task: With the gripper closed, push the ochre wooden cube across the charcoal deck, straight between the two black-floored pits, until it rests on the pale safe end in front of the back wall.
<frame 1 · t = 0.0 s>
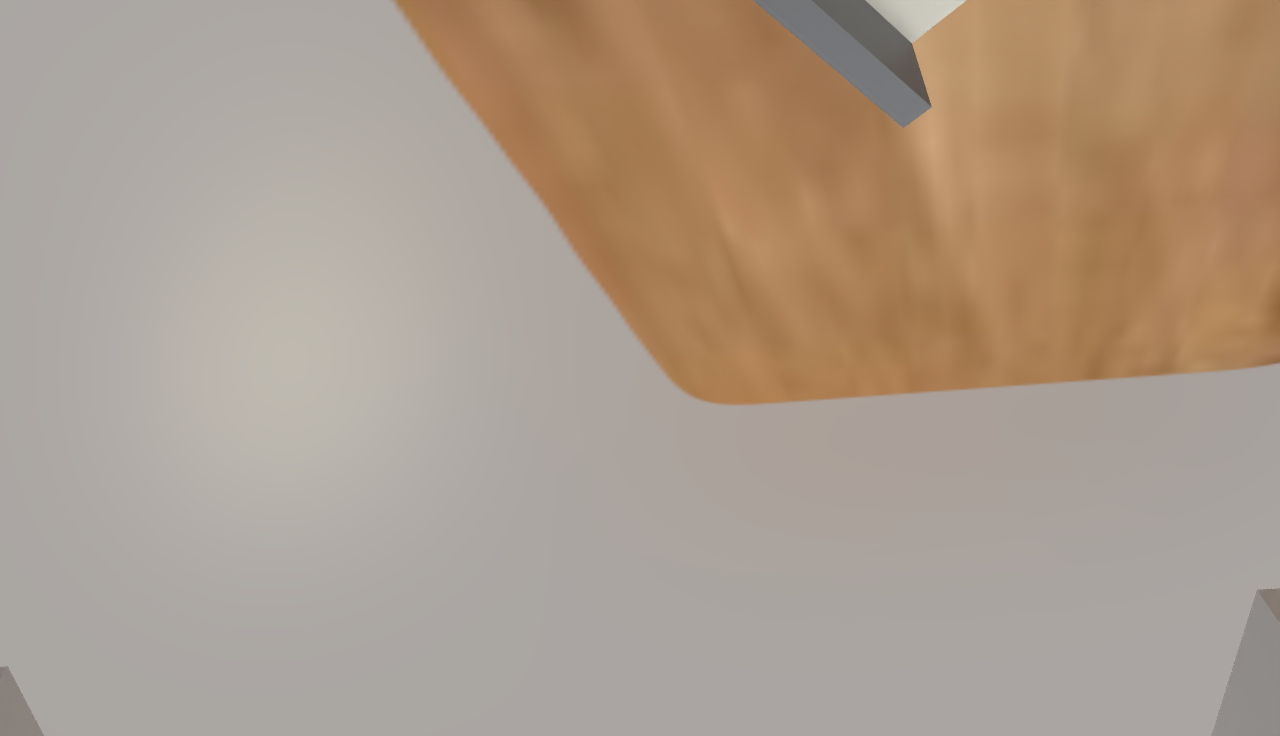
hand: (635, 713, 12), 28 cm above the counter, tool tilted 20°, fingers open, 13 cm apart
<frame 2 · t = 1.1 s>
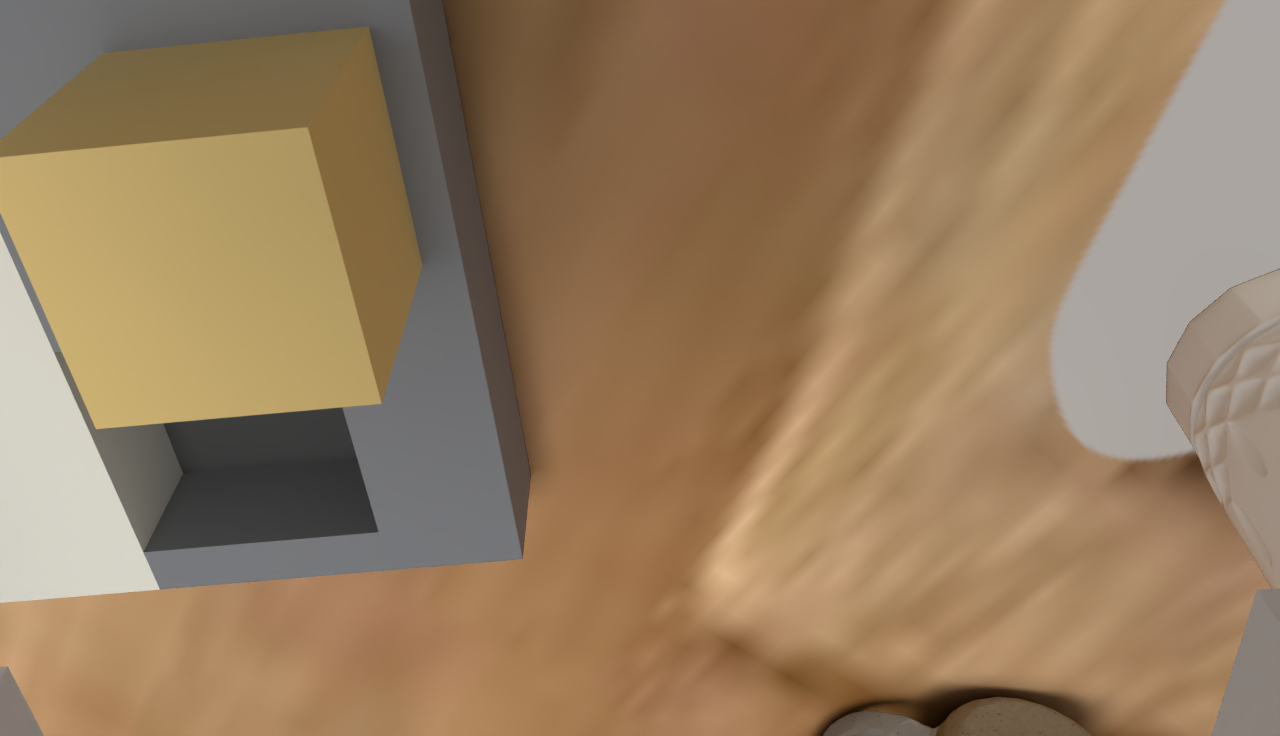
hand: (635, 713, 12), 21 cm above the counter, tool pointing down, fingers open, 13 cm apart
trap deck: (125, 123, 30), on the counter
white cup: (1270, 355, 35), on the counter
ochre cube: (271, 165, 27), point 4 cm above the counter, touching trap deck
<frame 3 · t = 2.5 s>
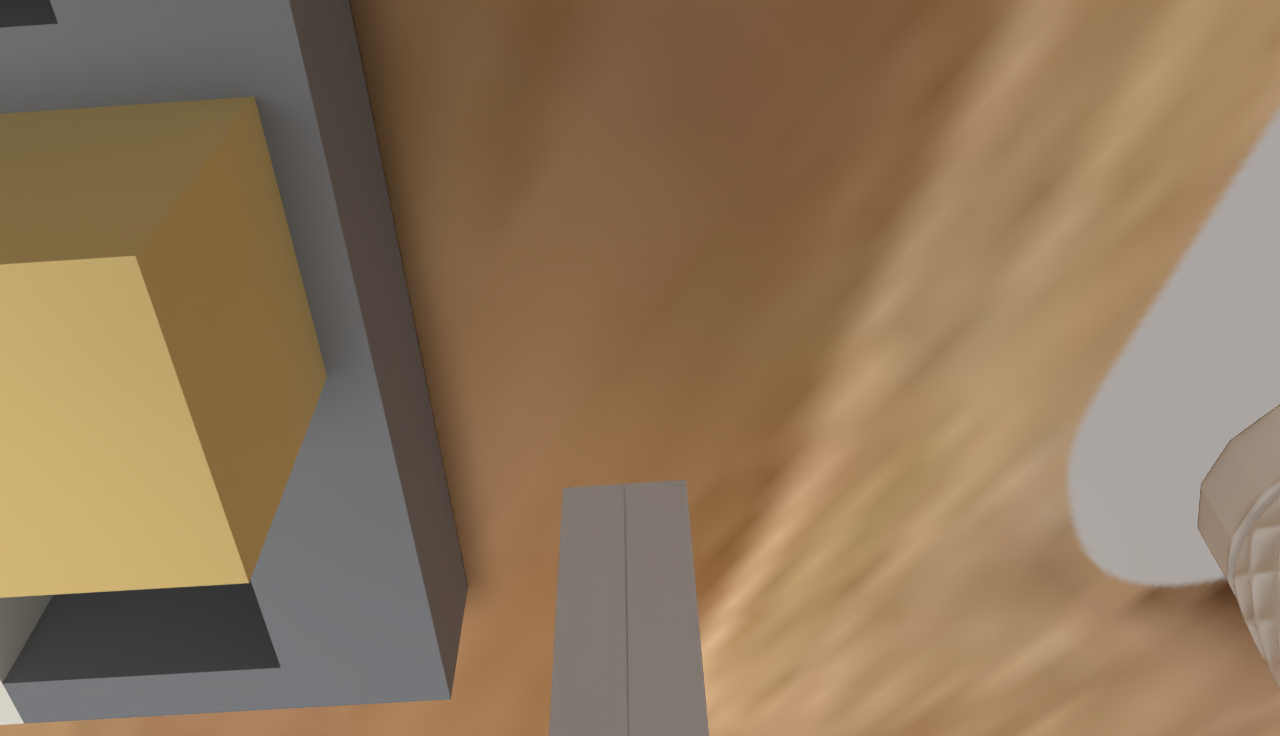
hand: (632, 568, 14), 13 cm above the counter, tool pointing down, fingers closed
ochre cube: (138, 257, 22), point 4 cm above the counter, touching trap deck
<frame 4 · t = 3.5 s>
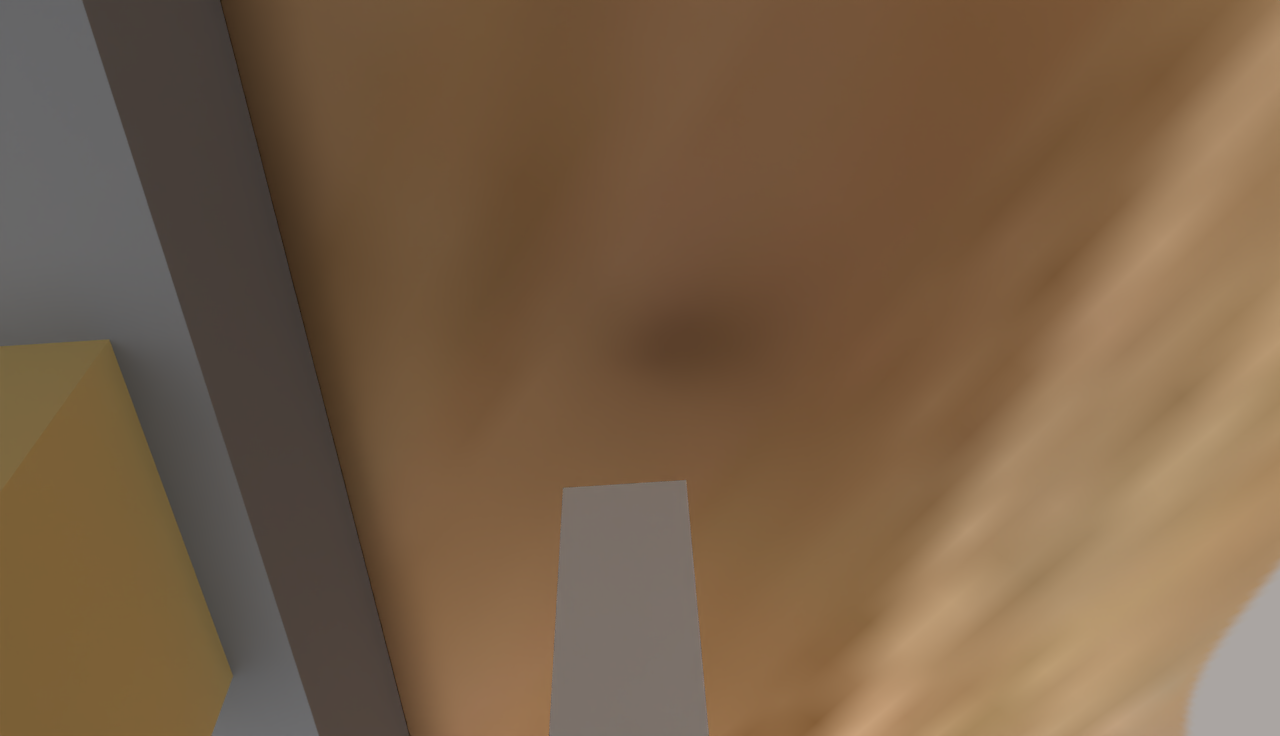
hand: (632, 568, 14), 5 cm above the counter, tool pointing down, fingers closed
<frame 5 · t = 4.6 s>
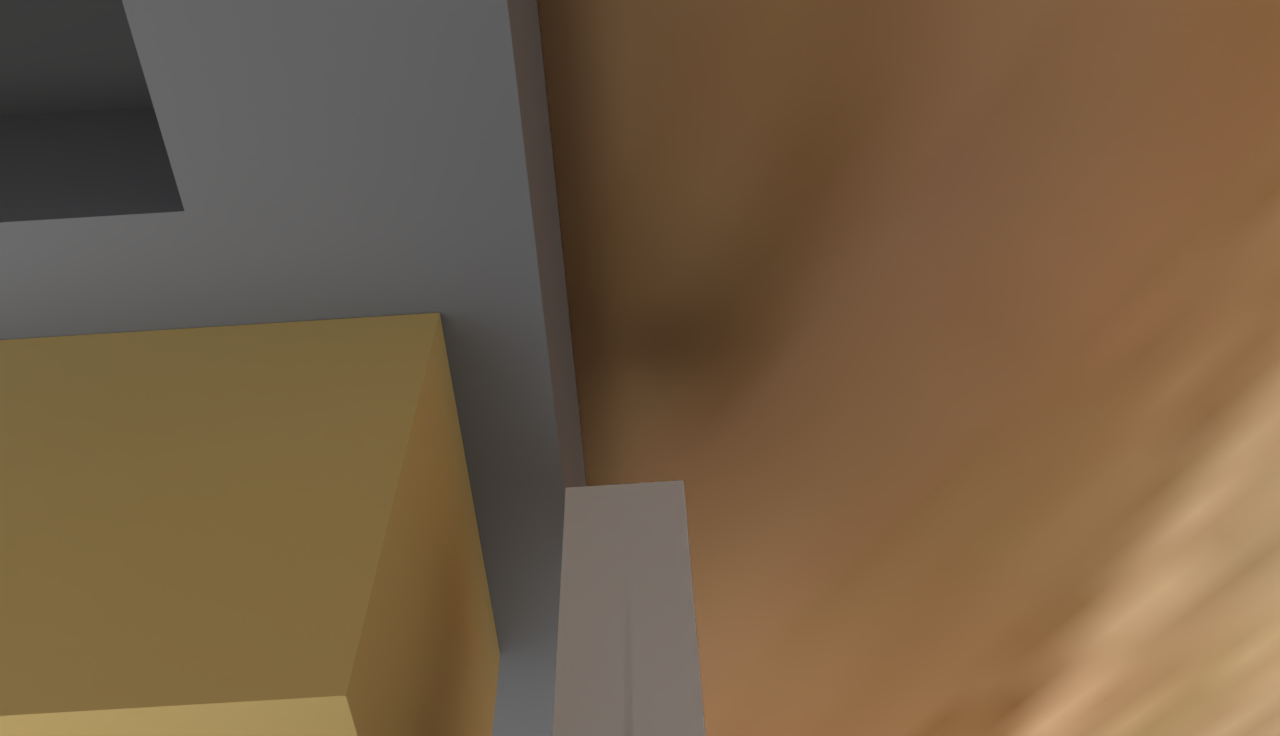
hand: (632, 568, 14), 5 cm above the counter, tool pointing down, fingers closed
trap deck: (34, 373, 19), on the counter
ochre cube: (255, 514, 16), point 4 cm above the counter, touching gripper
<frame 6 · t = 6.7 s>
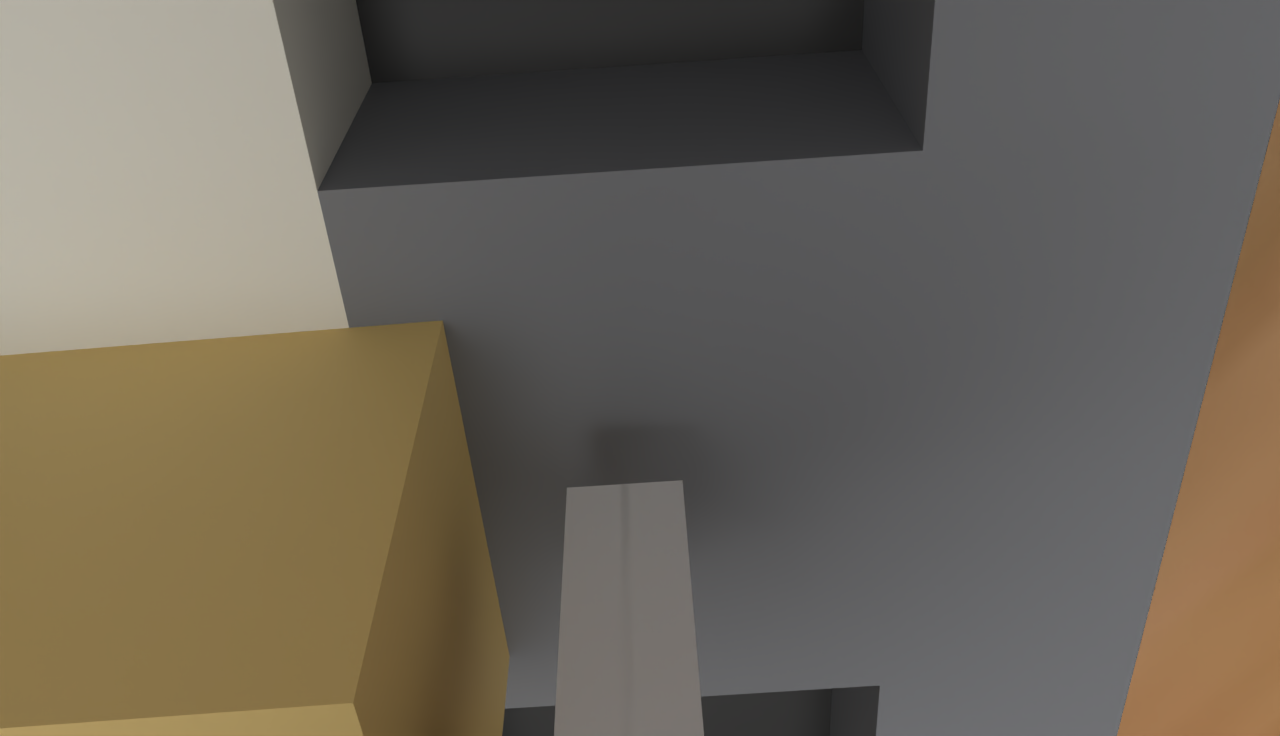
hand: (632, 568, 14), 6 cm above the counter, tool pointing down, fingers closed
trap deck: (545, 332, 19), on the counter
ochre cube: (265, 522, 16), point 4 cm above the counter, touching gripper, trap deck
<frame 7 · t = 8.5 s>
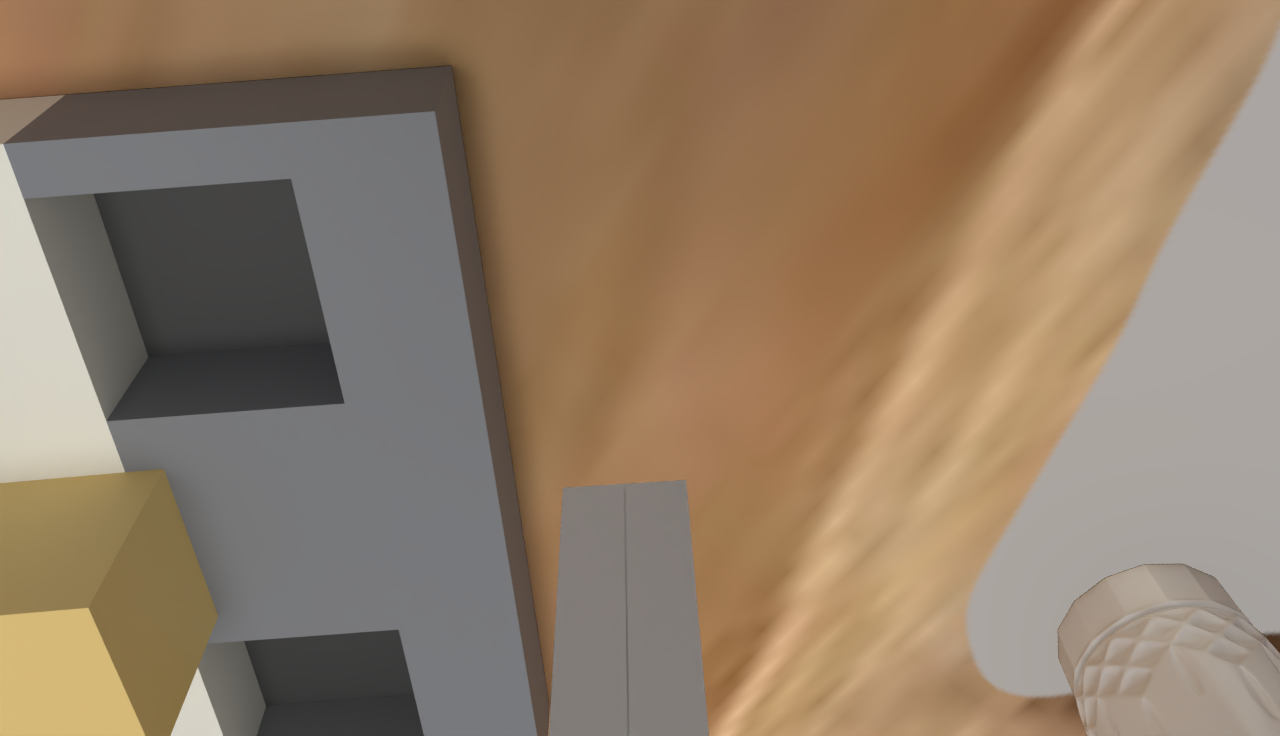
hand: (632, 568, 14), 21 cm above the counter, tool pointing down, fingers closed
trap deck: (247, 460, 39), on the counter
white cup: (1139, 622, 45), on the counter
ochre cube: (97, 553, 36), point 4 cm above the counter, touching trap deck
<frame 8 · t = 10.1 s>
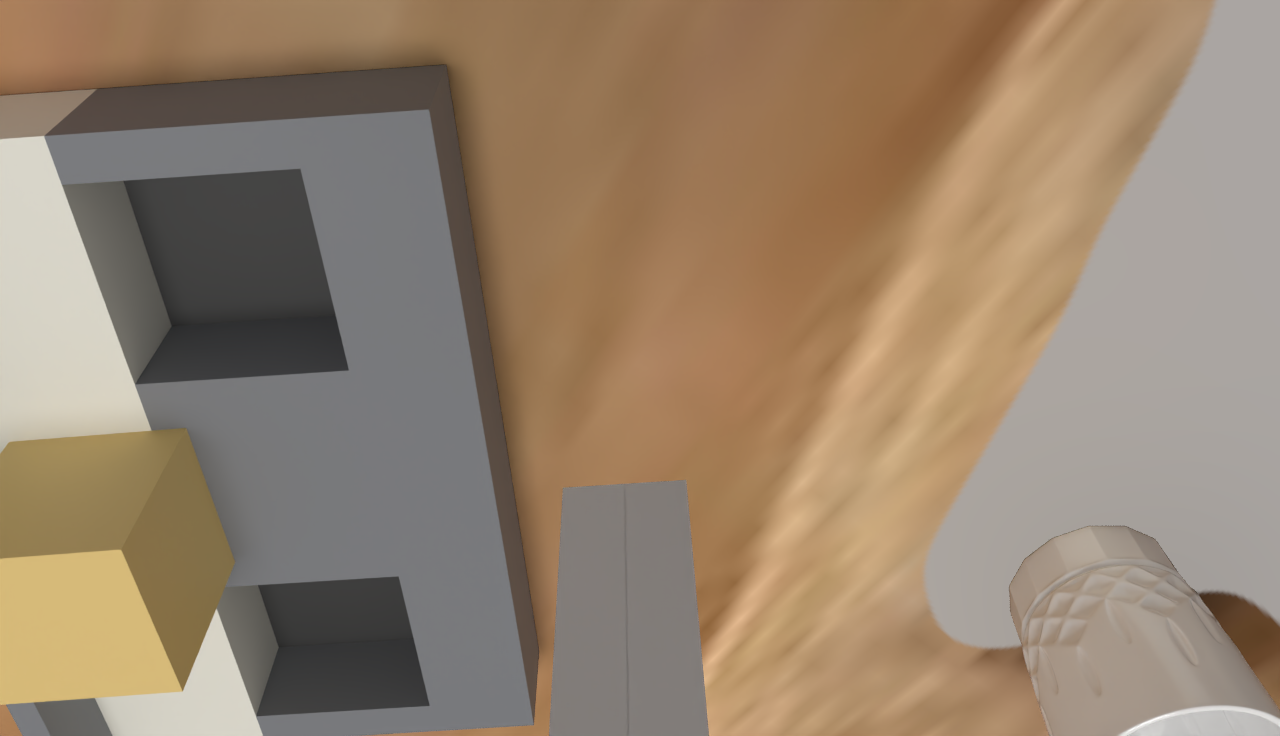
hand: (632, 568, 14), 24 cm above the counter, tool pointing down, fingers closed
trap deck: (261, 421, 43), on the counter
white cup: (1085, 580, 48), on the counter
ochre cube: (126, 504, 40), point 4 cm above the counter, touching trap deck
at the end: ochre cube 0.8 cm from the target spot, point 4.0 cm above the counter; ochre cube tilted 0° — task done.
